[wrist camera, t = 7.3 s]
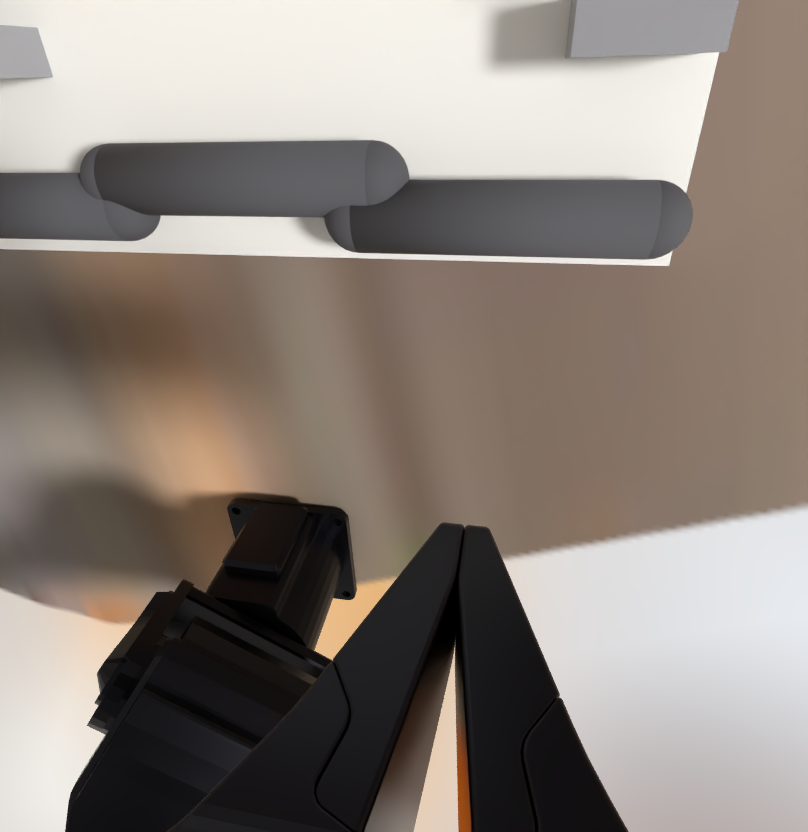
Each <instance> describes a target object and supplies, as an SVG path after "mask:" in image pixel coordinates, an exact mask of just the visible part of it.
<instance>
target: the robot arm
mask: <svg viewBox="0 0 808 832" xmlns="http://www.w3.org/2000/svg"><path fill="white" fill-rule="evenodd" d="M227 509H228V514H229V517H230V521H231V525H232V528H233V532H234V536H235V541H234V543H233V544H232V546H231V548H230V549H229V551H228V553H227V554H226V556H225V558H224V559H223V562H222V563H223V564H222V566H221V567H220V569H219V571H218V572H217V574H216V576H215V577H214V579H213V581H212V582H211V584H210V586H209V587H208V589H207V591H206V592H203V591H201V590H199V589H197V588H195V587H193V585H194V584H192V583H190V582H189V581H187V580H185V579H183V580H182V581H181V583H180V584H179V586H178V587H177V589H176V590H175V592H173V591H169V592H156V594H155V595H154V597H153V598H152V600H151V601H150V602H149V604H148V605H147V607H146V608H145V610H144V611H143V612H142V614H141V615H140V617H139V618H138V619H137V621H136V622H135V624H134V625H133V626H132V628H131V629H130V630H129V631H128V633H127V634H126V635H125V636H124V638H123V639H122V640H121V642H120V643H119V644H118V645H117V646H116V648H115V649H114V650H113V652H112V653H111V654H110V655H109V657H108V658H107V659H106V661H105V662H104V663H103V665H102V666H101V668H100V669H99V671H98V673H97V677H98V683H99V689H100V695H99V696H98V698H97V700H96V701H95V704H97V705H99V706H98V708H97V709H96V711H95V713H94V714H93V716H92V718H91V719H90V721H89V723H88V725H87V726H89V727H91V728H93V729H95V730H97V731H100V732H101V733H104V734H105V736H104V738H103V739H102V741H101V742H100V744H99V746H98V747H97V749H96V750H95V752H94V754H93V755H92V757H91V758H90V760H89V762H88V763H87V765H86V766H85V768H84V770H83V771H82V773H81V775H80V776H79V778H78V780H77V782H76V784H75V786H74V788H73V790H72V792H71V795H70V799H69V805H68V813H67V821H66V830H65V832H413V831H414V826H415V822H416V818H417V813H418V809H419V804H420V800H421V796H422V791H423V787H424V782H425V777H426V774H427V769H428V765H429V761H430V756H431V752H432V747H433V742H434V738H435V734H436V730H437V725H438V721H439V717H440V712H441V708H442V703H443V699H444V695H445V690H446V686H447V681H448V677H449V673H450V668H451V664H452V659H453V654H454V647H455V684H456V685H455V687H456V733H457V773H458V774H457V776H458V825H459V832H628V830H627V828H626V827H625V825H624V823H623V821H622V819H621V818H620V816H619V814H618V812H617V810H616V809H615V807H614V805H613V803H612V801H611V800H610V798H609V796H608V794H607V792H606V790H605V789H604V787H603V785H602V783H601V781H600V779H599V777H598V775H597V773H596V771H595V770H594V768H593V766H592V764H591V762H590V760H589V758H588V756H587V754H586V752H585V750H584V747H583V745H582V743H581V741H580V739H579V737H578V734H577V732H576V730H575V728H574V726H573V724H572V721H571V719H570V717H569V714H568V712H567V710H566V707H565V705H564V702H563V700H562V699H561V698H559V696H560V695H559V691H558V689H557V687H556V684H555V682H554V680H553V677H552V675H551V672H550V670H549V668H548V665H547V663H546V661H545V659H544V656H543V654H542V651H541V649H540V647H539V644H538V642H537V640H536V637H535V635H534V633H533V630H532V628H531V625H530V623H529V621H528V618H527V616H526V614H525V611H524V609H523V607H522V604H521V602H520V600H519V597H518V595H517V593H516V590H515V588H514V586H513V583H512V581H511V578H510V576H509V574H508V571H507V569H506V567H505V564H504V562H503V560H502V557H501V555H500V552H499V550H498V548H497V545H496V543H495V541H494V538H493V536H492V534H491V531H490V530H489V528H487V527H482V526H473V525H468V526H466V527H465V529H464V526H463V525H461V524H454V523H441V524H440V525H439V526H438V527H437V528H436V530H435V531H434V532H433V533H432V535H431V536H430V537H429V538H428V540H427V541H426V542H425V544H424V545H423V546H422V547H421V549H420V550H419V551H418V552H417V554H416V555H415V556H414V557H413V559H412V560H411V561H410V562H409V564H408V565H407V566H406V568H405V569H404V570H403V571H402V573H401V574H400V575H399V576H398V578H397V579H396V580H395V581H394V583H393V584H392V585H391V586H390V588H389V589H388V590H387V591H386V593H385V594H384V595H383V597H382V598H381V599H380V600H379V602H378V603H377V604H376V605H375V607H374V608H373V609H372V610H371V612H370V613H369V614H368V616H367V617H366V618H365V619H364V620H363V622H362V623H361V624H360V626H359V627H358V628H357V629H356V631H355V632H354V633H353V634H352V636H351V637H350V638H349V639H348V641H347V642H346V643H345V644H344V646H343V647H342V648H341V650H340V651H339V652H338V653H337V655H336V656H335V657H334V659H333V661H332V660H331V659H329V658H327V657H325V656H323V655H321V654H319V653H317V652H316V651H314V650H315V647H316V644H317V641H318V639H319V636H320V633H321V630H322V627H323V625H324V622H325V619H326V616H327V613H328V611H329V608H330V605H331V602H332V599H333V598H338V599H345V600H351V599H353V598H354V597H355V594H356V591H357V588H356V579H355V570H354V562H353V553H352V544H351V535H350V527H349V518H348V515H347V514H346V513H345V512H344V511H342V510H338V509H328V508H319V507H310V506H300V505H291V504H282V503H272V502H263V501H253V500H244V499H234V500H232V501H231V503H230V504H229V506H228V507H227ZM336 518H337V519H339V520H340V521H339V520H337V519H336ZM455 640H456V641H455Z"/></svg>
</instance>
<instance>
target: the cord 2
mask: <svg viewBox="0 0 808 832" xmlns="http://www.w3.org/2000/svg"><path fill="white" fill-rule="evenodd" d="M161 216H238V217H318V218H325V225H326V228H327V230H328V233H329V235H330V236H331V237H332V239H333V240H334V241H335V242H336V243H337V244H338V245H339V246H340V247H342V248H344V249H345V250H348V251H351V252H356V253H382V254H425V255H467V256H509V257H552V258H594V259H636V260H646V259H655V258H659V257H662V256H664V255H666V254H668V253H670V252H671V251H673V250H674V249H675V248H677V247H678V246H679V245H680V244H681V243H682V242H683V240H684V239H685V237H686V236H687V234H688V232H689V230H690V227H691V223H692V217H693V209H692V205H691V202H690V199H689V198H688V196H687V194H686V193H685V192H684V191H683V190H682V189H681V188H680V187H679V186H677V185H676V184H674V183H671V182H668V181H665V180H409V172H408V167H407V165H406V162H405V160H404V158H403V157H402V156H401V154H400V153H399V152H398V151H397V150H396V149H395V148H394V147H393V146H391V145H389V144H388V143H385V142H382V141H376V140H337V141H257V142H178V143H108V144H101V145H99V146H96V147H94V148H92V149H91V150H90V151H89V152H88V153H87V154H86V155H85V156H84V158H83V160H82V162H81V165H80V173H0V238H1V239H48V240H95V241H138V240H141V239H144V238H146V237H148V236H149V235H151V234H152V233H153V232H154V231H155V229H156V228H157V226H158V224H159V221H160V218H161Z"/></svg>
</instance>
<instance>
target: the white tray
mask: <svg viewBox="0 0 808 832" xmlns="http://www.w3.org/2000/svg"><path fill="white" fill-rule="evenodd" d="M738 3H739V0H0V173H80V165H81V162H82V160H83V158H84V156H85V155H86V154H87V153H88V152H89V151H90V150H91V149H92V148H94V147H96V146H99V145H101V144H108V143H178V142H257V141H337V140H376V141H382V142H385V143H388V144H389V145H391V146H393V147H394V148H395V149H396V150H397V151H398V152H399V153H400V154H401V156H402V157H403V158H404V160H405V162H406V165H407V167H408V172H409V180H665V181H668V182H671V183H674V184H676V185H677V186H679V187H680V188H681V189H682V190H683V191H684V192H685V193H686V191H687V187H688V183H689V178H690V174H691V170H692V166H693V161H694V157H695V153H696V149H697V144H698V140H699V136H700V132H701V127H702V123H703V119H704V115H705V110H706V106H707V102H708V98H709V93H710V89H711V85H712V81H713V76H714V72H715V68H716V64H717V59H718V55H719V52H727V48H728V44H729V40H730V36H731V32H732V28H733V23H734V19H735V15H736V11H737V7H738ZM0 249H19V250H58V251H98V252H138V253H177V254H217V255H257V256H296V257H336V258H375V259H415V260H455V261H494V262H534V263H573V264H613V265H653V266H669V263H670V259H671V255H672V251H671V252H670V253H668V254H666V255H664V256H662V257H659V258H655V259H646V260H636V259H594V258H552V257H509V256H467V255H425V254H382V253H356V252H351V251H348V250H345V249H344V248H342V247H340V246H339V245H338V244H337V243H336V242H335V241H334V240H333V239H332V237H331V236H330V235H329V233H328V230H327V228H326V225H325V218H318V217H238V216H161V218H160V221H159V224H158V226H157V228H156V229H155V231H154V232H153V233H152V234H151V235H149V236H148V237H146V238H144V239H141V240H138V241H95V240H48V239H1V238H0Z"/></svg>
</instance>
